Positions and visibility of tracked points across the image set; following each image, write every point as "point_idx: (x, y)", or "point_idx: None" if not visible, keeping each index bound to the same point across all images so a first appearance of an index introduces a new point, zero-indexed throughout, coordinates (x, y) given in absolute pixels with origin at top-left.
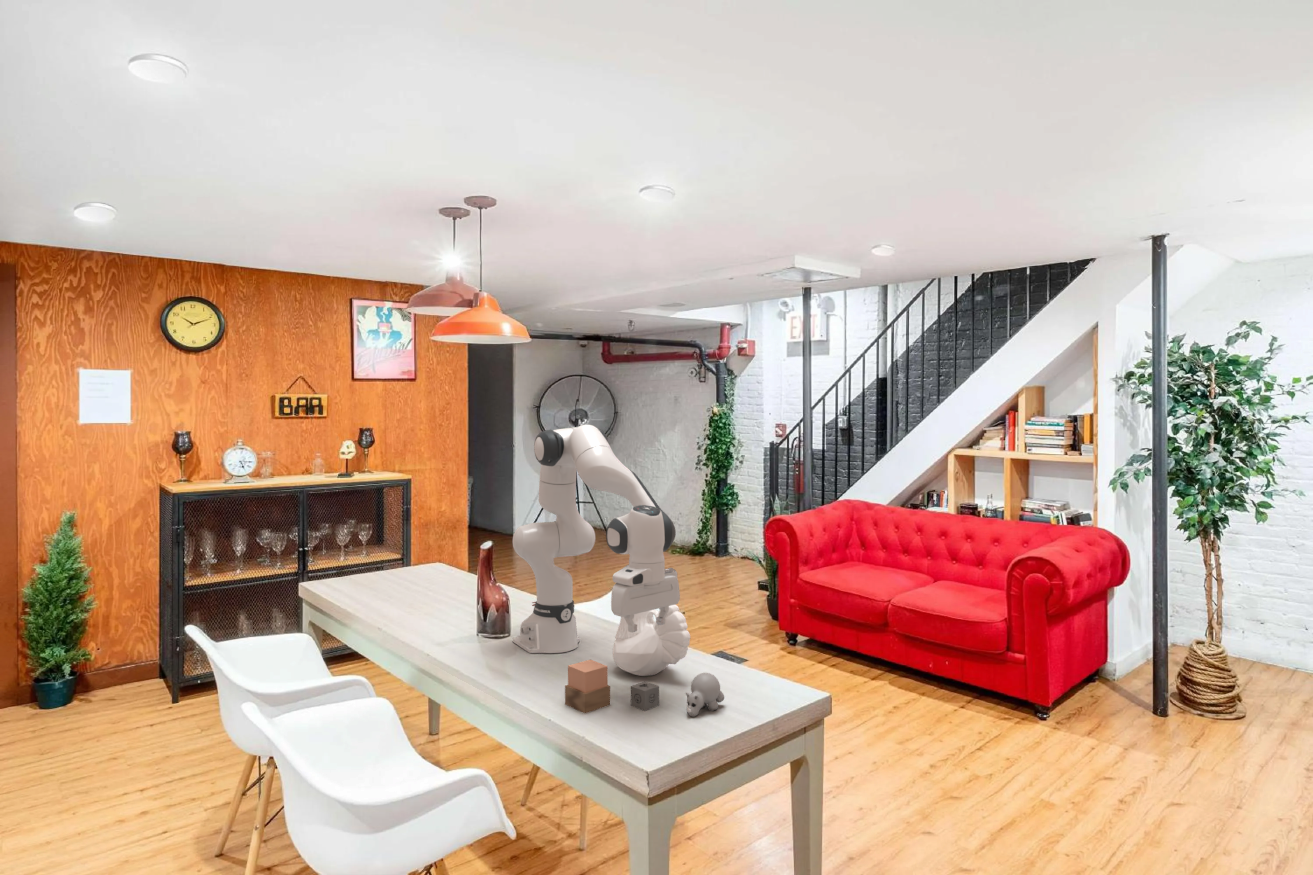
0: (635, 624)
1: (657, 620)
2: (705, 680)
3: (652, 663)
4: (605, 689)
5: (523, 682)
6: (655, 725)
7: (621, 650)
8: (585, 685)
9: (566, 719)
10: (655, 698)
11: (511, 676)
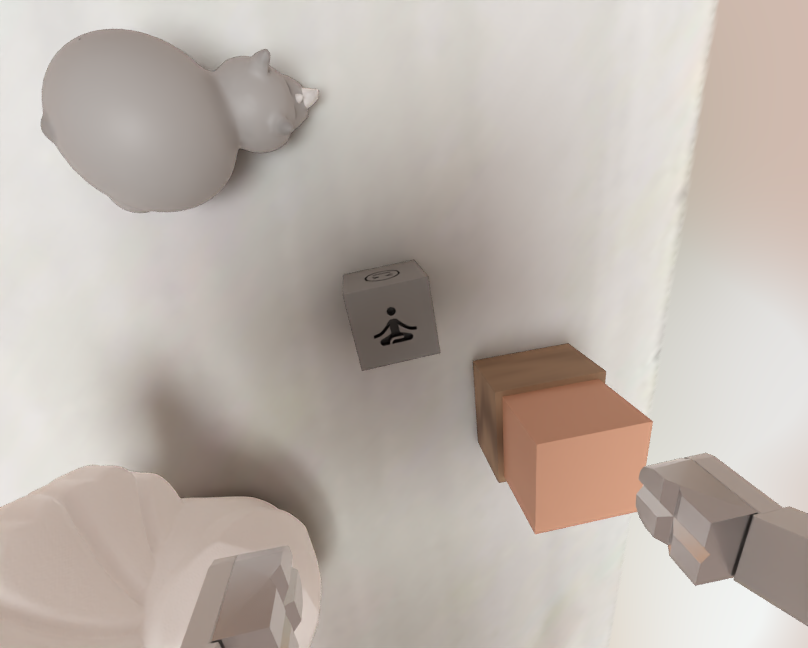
0: (719, 531)
1: (291, 626)
2: (150, 68)
3: (228, 508)
4: (513, 384)
5: (549, 578)
6: (462, 122)
7: (308, 613)
8: (614, 392)
9: (629, 333)
10: (363, 278)
11: (546, 614)
